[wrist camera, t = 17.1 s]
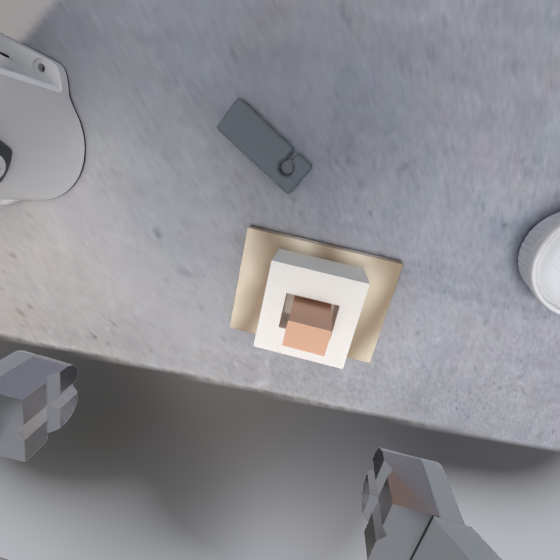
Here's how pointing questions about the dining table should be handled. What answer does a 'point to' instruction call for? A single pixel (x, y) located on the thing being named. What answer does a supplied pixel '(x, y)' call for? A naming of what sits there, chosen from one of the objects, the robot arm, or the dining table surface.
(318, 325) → the block
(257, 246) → the base board
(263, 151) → the bracket
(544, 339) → the dining table surface
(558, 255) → the ramekin
